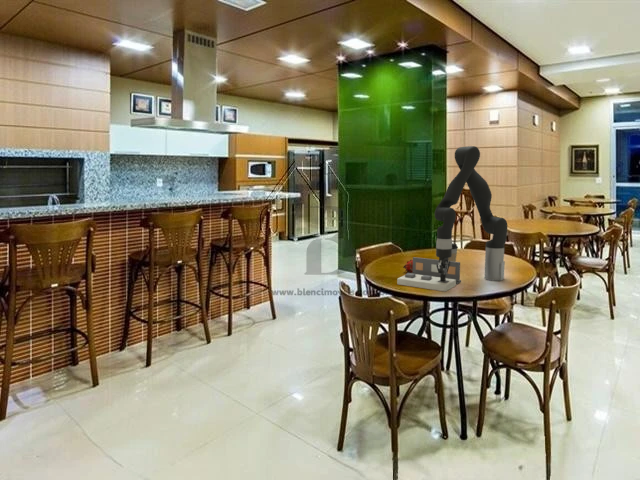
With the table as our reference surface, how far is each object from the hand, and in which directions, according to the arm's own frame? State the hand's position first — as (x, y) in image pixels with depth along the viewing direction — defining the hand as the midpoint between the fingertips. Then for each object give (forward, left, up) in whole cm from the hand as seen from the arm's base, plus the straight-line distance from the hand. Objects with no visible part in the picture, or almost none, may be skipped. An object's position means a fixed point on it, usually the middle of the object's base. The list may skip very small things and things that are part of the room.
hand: (443, 281), depth 224 cm
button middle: (+9, 0, -2) cm, 9 cm away
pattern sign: (+9, -12, -3) cm, 15 cm away
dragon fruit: (+26, -21, -3) cm, 34 cm away
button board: (+9, 0, -3) cm, 9 cm away
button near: (0, 0, -3) cm, 3 cm away
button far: (+18, 0, -2) cm, 18 cm away
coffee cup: (+12, -40, -3) cm, 42 cm away
